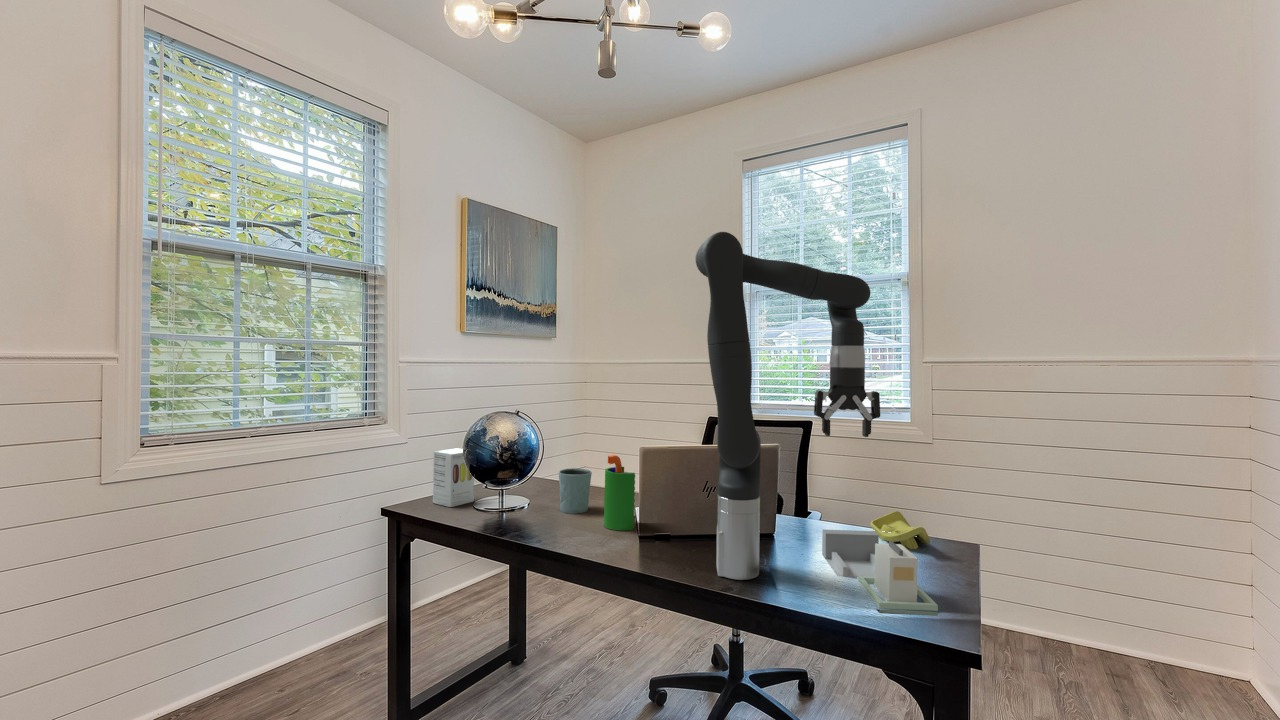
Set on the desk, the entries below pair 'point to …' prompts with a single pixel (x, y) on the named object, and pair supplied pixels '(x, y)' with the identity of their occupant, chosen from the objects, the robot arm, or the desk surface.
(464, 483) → the supplement box
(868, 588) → the tray
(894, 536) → the plastic component
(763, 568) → the desk surface
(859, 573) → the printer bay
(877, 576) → the labeled white box
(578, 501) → the pale teal cup
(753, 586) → the desk surface
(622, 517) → the motor
